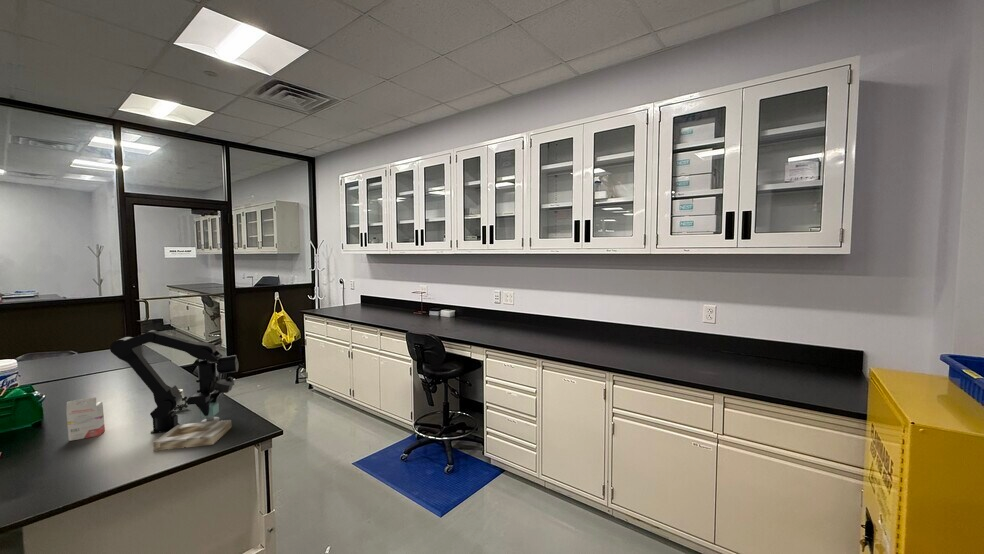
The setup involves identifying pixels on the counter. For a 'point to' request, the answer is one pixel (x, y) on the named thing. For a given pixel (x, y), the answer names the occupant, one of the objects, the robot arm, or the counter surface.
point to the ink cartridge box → (84, 419)
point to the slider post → (211, 413)
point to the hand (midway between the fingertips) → (209, 413)
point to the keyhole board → (193, 442)
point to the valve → (182, 401)
